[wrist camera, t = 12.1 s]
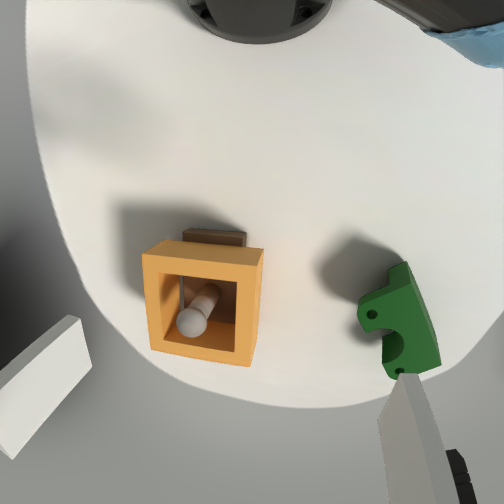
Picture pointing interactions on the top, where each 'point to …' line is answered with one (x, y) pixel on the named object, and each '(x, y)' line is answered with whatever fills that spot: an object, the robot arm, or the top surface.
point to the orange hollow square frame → (212, 267)
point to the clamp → (401, 324)
